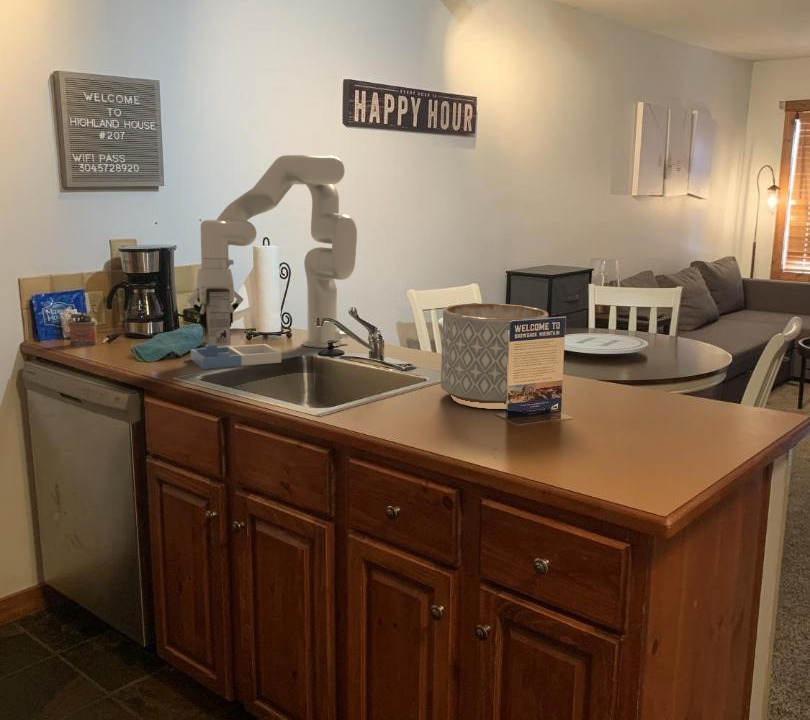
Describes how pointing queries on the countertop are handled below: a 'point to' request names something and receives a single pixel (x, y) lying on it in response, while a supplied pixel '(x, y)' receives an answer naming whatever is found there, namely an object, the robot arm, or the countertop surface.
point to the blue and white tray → (235, 356)
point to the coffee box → (217, 317)
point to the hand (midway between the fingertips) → (216, 326)
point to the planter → (479, 349)
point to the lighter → (82, 330)
